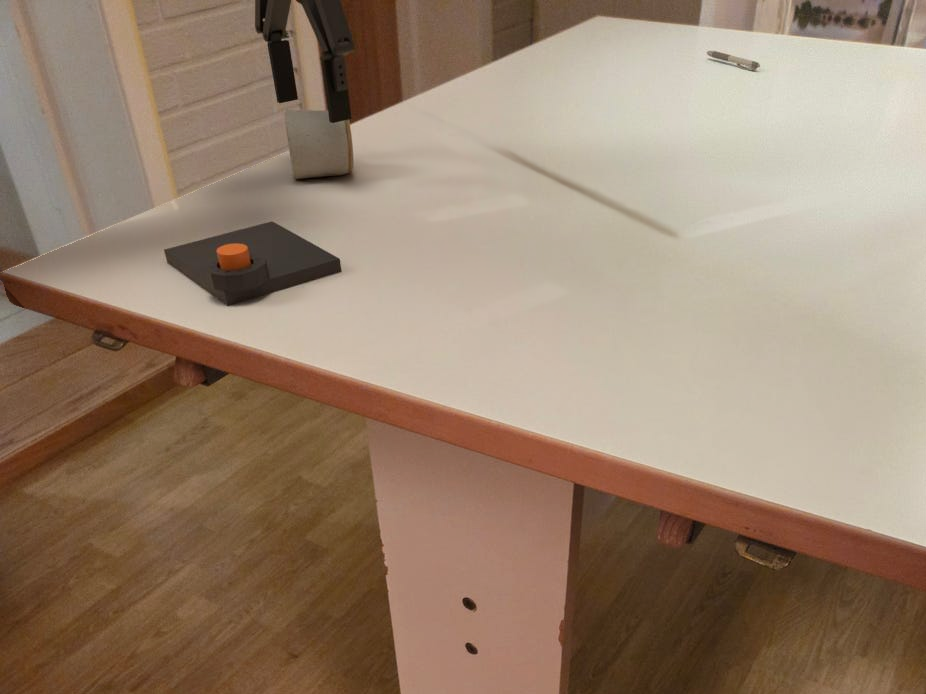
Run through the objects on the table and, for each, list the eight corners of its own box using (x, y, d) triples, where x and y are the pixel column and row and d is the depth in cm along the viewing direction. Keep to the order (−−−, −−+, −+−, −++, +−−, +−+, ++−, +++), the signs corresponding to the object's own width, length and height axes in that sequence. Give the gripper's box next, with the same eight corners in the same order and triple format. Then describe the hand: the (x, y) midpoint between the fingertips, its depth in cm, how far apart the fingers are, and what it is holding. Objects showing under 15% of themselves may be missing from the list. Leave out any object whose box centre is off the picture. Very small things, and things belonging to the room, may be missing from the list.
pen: (756, 72, 149) (757, 62, 148) (703, 58, 158) (704, 49, 157) (760, 71, 150) (762, 62, 149) (708, 58, 159) (709, 48, 158)
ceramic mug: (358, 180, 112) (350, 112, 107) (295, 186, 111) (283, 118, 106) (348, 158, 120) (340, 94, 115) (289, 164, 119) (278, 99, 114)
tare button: (215, 266, 86) (211, 248, 85) (243, 259, 87) (239, 240, 86) (228, 275, 84) (224, 257, 83) (256, 267, 85) (252, 249, 84)
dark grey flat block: (163, 263, 94) (155, 234, 92) (274, 233, 99) (269, 205, 97) (227, 311, 84) (220, 280, 82) (346, 274, 90) (342, 245, 88)
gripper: (201, -111, 101) (242, 98, 116) (305, -102, 87) (337, 135, 102) (259, -116, 105) (292, 88, 119) (369, -109, 90) (391, 123, 105)
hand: (313, 110), depth 111 cm, fingers open, 13 cm apart
